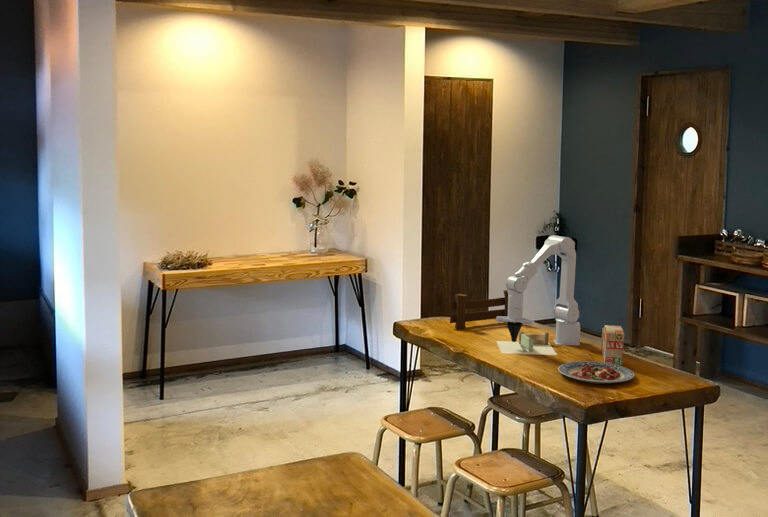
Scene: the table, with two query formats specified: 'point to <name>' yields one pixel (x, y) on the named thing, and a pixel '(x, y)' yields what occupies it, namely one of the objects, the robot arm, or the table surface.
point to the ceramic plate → (596, 372)
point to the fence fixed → (536, 338)
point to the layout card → (517, 348)
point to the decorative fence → (463, 304)
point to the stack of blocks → (612, 344)
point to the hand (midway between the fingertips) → (514, 341)
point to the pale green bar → (527, 342)
